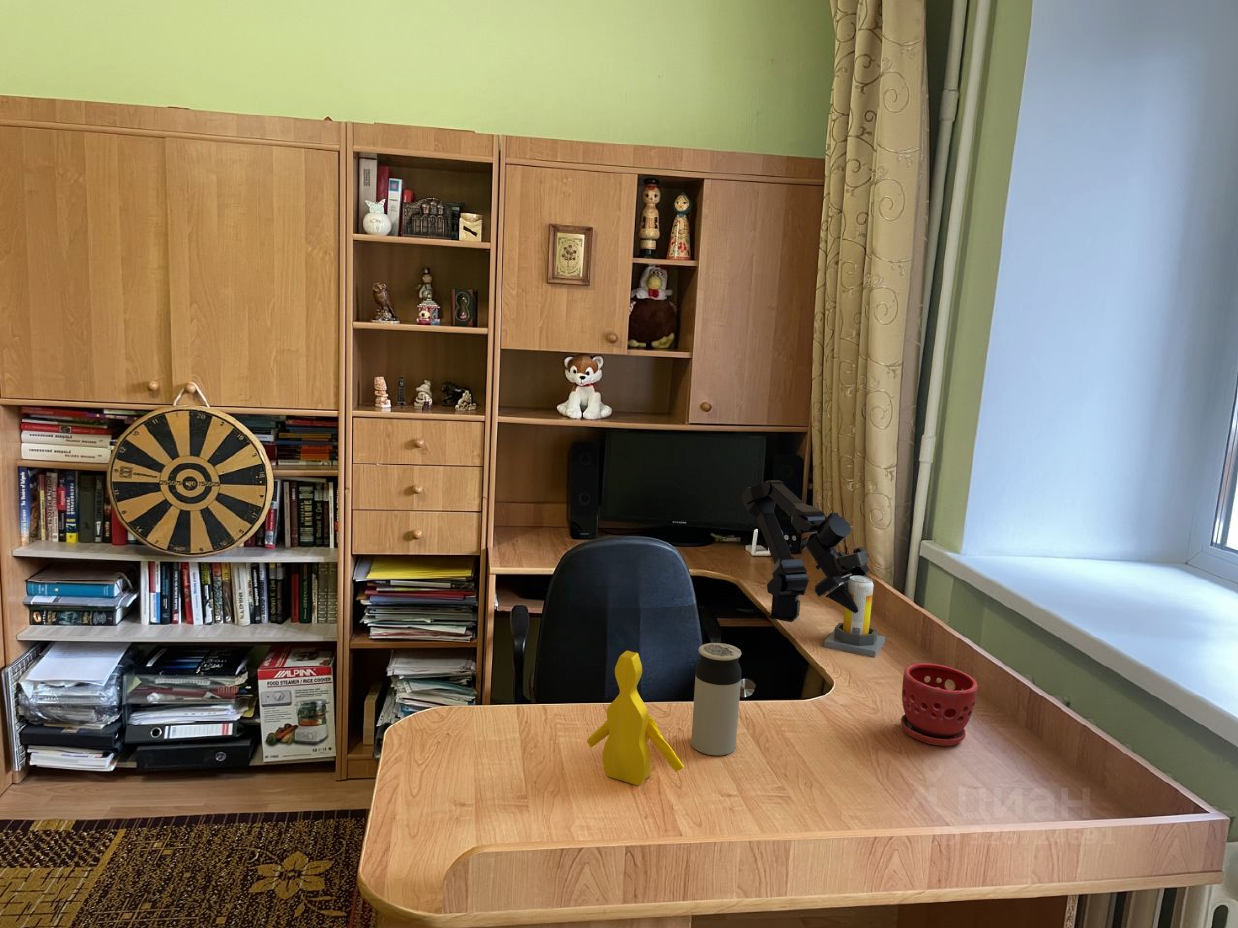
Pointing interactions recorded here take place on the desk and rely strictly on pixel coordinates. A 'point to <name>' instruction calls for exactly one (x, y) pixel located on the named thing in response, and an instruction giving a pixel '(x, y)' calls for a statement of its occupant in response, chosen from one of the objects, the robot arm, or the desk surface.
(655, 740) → the figure statuette
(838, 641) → the collar dock
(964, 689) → the plant pot
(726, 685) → the travel mug
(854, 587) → the beer can
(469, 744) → the desk surface
